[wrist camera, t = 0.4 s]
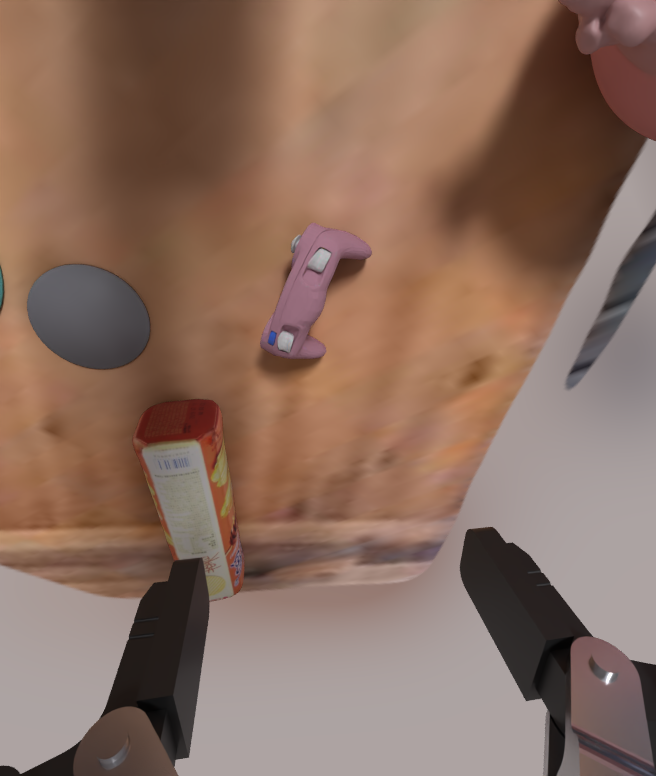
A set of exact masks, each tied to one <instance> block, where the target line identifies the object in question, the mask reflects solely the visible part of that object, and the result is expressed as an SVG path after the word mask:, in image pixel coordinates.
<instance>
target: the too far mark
mask: <svg viewBox="0 0 656 776" xmlns="http://www.w3.org/2000/svg"><path fill="white" fill-rule="evenodd" d="M27 310H28V316H29V319H30V322H31V325H32V327H33V329H34V331H35V332H36V334H37V335H38V337H39V338H40V339H41V341H42V342H43V343H44V344H45V345H46V346H47V347H48V348H49V349H50V350H52V351H53V352H54V353H56V354H57V355H59V356H60V357H62V358H64V359H65V360H67V361H69V362H72V363H74V364H77V365H80V366H83V367H88V368H95V369H109V368H115V367H119V366H122V365H125V364H127V363H129V362H131V361H132V360H134V359H135V358H136V357H137V356H138V355H139V354H140V353H141V352H142V351H143V349H144V348H145V346H146V344H147V342H148V339H149V334H150V320H149V316H148V312H147V310H146V307H145V305H144V303H143V302H142V300H141V298H140V297H139V296H138V294H137V293H136V292H135V291H134V290H133V289H132V288H131V286H129V285H128V284H127V283H126V282H125V281H124V280H122V279H121V278H119V277H118V276H116V275H114V274H112V273H110V272H108V271H106V270H103V269H101V268H98V267H94V266H90V265H84V264H69V265H63V266H59V267H56V268H53V269H51V270H49V271H47V272H46V273H44V274H43V275H42V276H40V277H39V278H38V279H37V280H36V282H35V283H34V284H33V286H32V288H31V290H30V292H29V295H28V301H27Z"/></svg>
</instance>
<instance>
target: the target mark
mask: <svg viewBox="0 0 656 776" xmlns="http://www.w3.org/2000/svg"><path fill="white" fill-rule="evenodd" d="M3 293H4V289H3V276H2V271H1V267H0V308H1V305H2V300H3Z"/></svg>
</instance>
